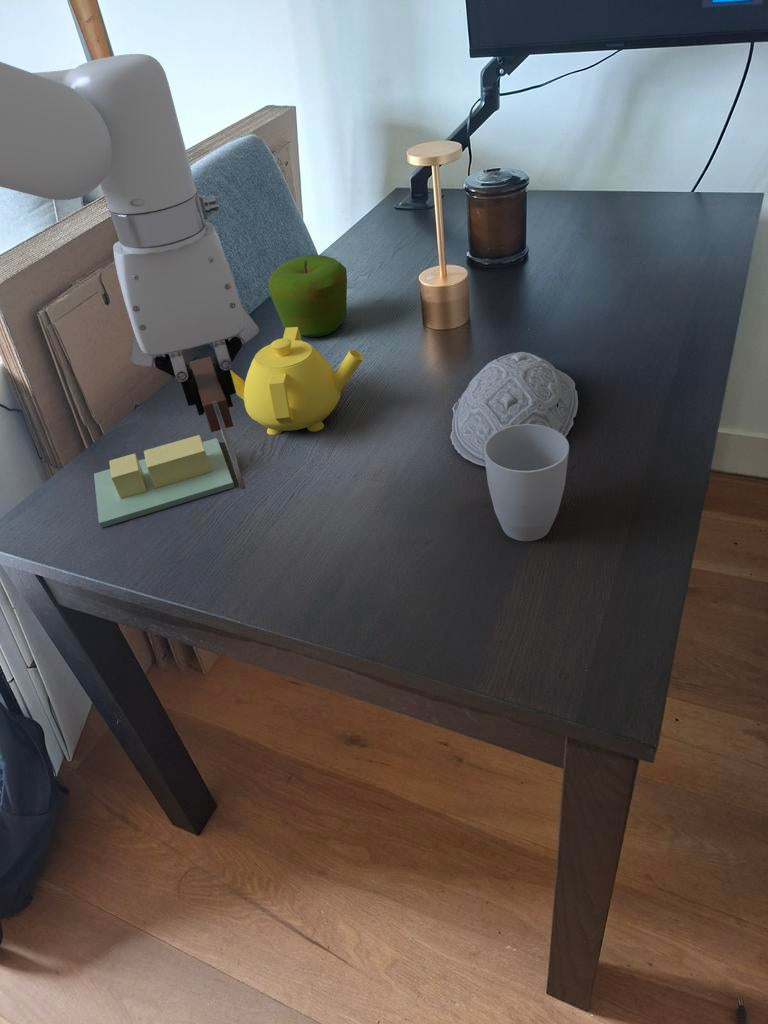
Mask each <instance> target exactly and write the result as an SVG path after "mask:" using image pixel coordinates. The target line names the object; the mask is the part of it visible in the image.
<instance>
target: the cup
mask: <svg viewBox="0 0 768 1024" xmlns="http://www.w3.org/2000/svg"><path fill="white" fill-rule="evenodd" d="M569 451H570V444H569V441H568V439H567V437H564V436H563V435H562V434H561V433H560V432H558V431H556V430H554V429H552V428H549V427H546V426H542V425H536V424H520V425H513V426H509V427H506V428H503V429H501V430H498V431H497V432H495V433H493V434H492V435H491V436H490V437H489V438H488V439H487V440H486V442H485V444H484V456H485V464H486V467H485V471H486V472H485V473H486V479H487V486H488V487H487V488H488V490H489V494H490V498H491V502H492V506H493V510H494V514H495V516H496V518H497V520H498V523H499V525H500V526H501V529H502V530H503V532H504V534H505V535H506V536H507V537H509V538H510V539H512V540H515V541H521V542H533V541H537V540H540V539H542V538H544V537H545V536H547V535H548V534H549V532H550V530H551V529H552V526H553V524H554V522H555V520H556V517H557V516H558V514H559V510H560V506H561V501H562V499H563V494H564V490H565V486H566V480H567V470H568V460H569Z"/></svg>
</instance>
